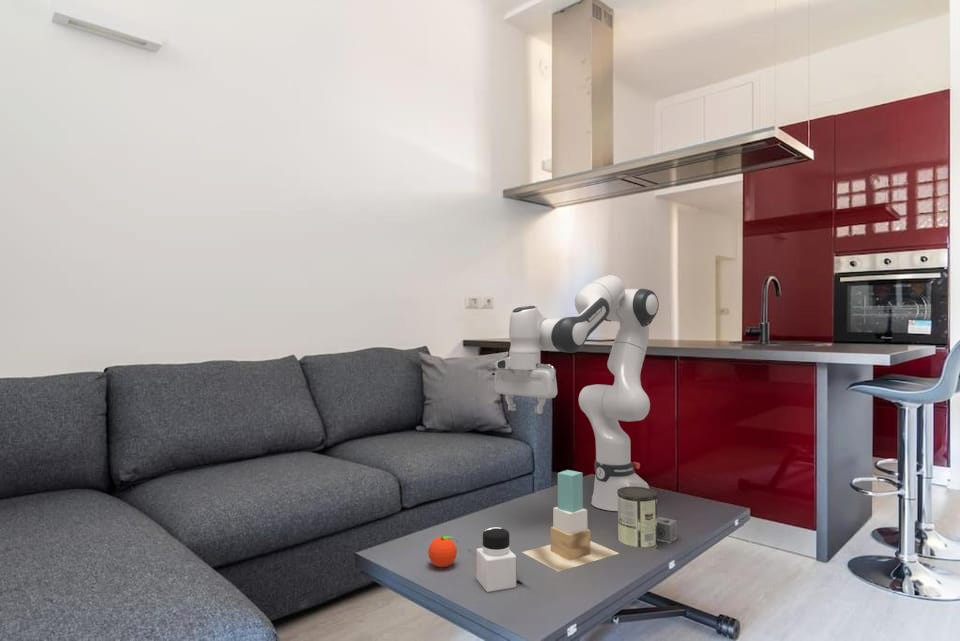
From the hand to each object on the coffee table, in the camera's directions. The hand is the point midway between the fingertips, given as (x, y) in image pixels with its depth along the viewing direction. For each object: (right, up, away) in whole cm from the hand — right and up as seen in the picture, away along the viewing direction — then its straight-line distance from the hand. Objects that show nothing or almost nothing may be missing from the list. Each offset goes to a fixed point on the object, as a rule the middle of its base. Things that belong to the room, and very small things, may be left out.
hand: (525, 411), depth 161 cm
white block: (+10, -27, -18) cm, 33 cm away
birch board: (+10, -34, -18) cm, 40 cm away
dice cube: (+38, -34, -5) cm, 51 cm away
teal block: (+10, -22, -18) cm, 30 cm away
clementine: (-21, -34, -23) cm, 46 cm away
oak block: (+10, -33, -18) cm, 38 cm away
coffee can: (+29, -34, -9) cm, 46 cm away
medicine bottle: (-9, -34, -33) cm, 48 cm away
